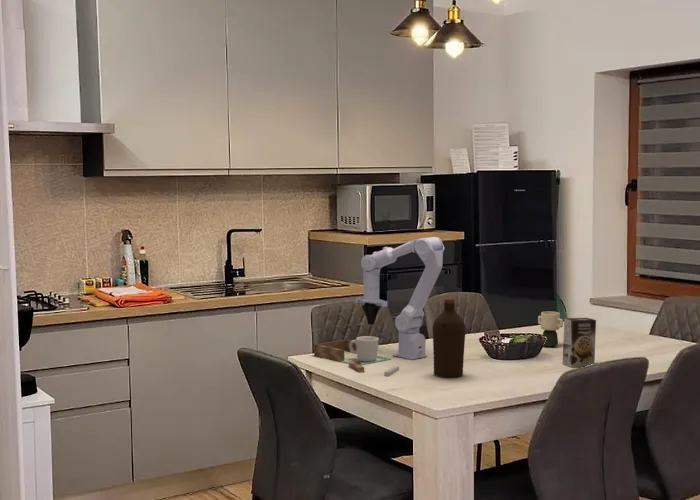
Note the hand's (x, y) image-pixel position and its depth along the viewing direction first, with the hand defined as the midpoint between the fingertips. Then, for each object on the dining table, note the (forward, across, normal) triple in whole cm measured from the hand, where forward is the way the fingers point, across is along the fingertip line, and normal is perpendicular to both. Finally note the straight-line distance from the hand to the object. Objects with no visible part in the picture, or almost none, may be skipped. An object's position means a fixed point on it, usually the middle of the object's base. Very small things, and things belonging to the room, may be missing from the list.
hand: (371, 324), depth 329 cm
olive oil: (+10, +45, -9) cm, 47 cm away
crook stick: (+10, +19, -25) cm, 33 cm away
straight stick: (+10, +31, -21) cm, 39 cm away
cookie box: (+10, +65, +36) cm, 75 cm away
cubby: (+10, +1, -14) cm, 17 cm away
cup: (+10, +10, -14) cm, 20 cm away
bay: (+10, +11, -14) cm, 20 cm away
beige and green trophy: (+10, +39, +57) cm, 70 cm away
